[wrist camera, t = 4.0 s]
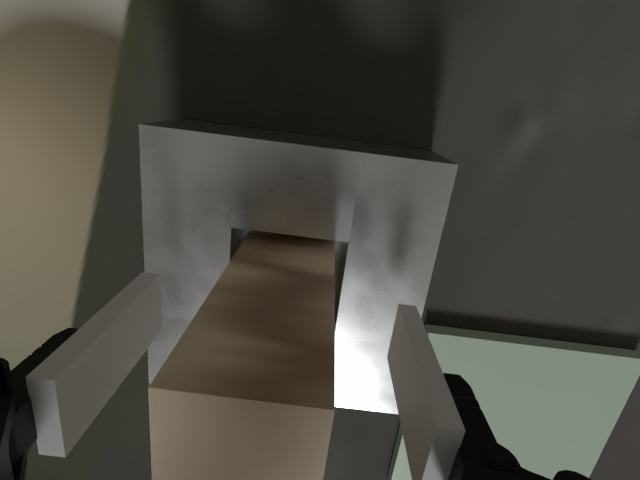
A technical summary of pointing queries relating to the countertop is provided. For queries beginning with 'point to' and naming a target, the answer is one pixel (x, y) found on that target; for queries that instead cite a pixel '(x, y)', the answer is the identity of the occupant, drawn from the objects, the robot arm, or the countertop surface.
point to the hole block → (295, 229)
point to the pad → (537, 395)
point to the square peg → (252, 370)
